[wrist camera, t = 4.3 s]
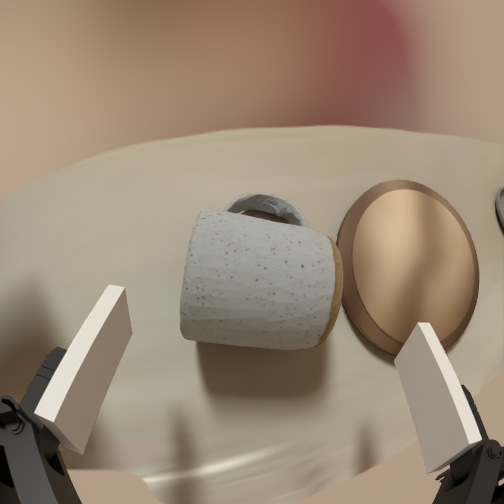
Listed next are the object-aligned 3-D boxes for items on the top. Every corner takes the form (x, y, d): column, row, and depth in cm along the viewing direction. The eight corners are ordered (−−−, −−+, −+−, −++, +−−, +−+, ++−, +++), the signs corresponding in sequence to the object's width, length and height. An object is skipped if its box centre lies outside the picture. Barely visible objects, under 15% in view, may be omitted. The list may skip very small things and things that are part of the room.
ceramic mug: (307, 349, 20) (348, 356, 12) (190, 337, 19) (166, 340, 12) (315, 209, 23) (350, 156, 15) (210, 196, 22) (203, 134, 15)
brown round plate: (326, 357, 20) (331, 358, 19) (335, 169, 24) (340, 162, 22) (470, 353, 20) (478, 354, 19) (465, 203, 24) (472, 199, 23)
